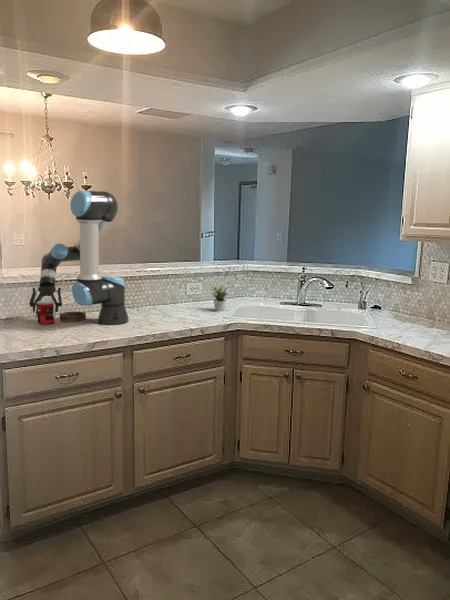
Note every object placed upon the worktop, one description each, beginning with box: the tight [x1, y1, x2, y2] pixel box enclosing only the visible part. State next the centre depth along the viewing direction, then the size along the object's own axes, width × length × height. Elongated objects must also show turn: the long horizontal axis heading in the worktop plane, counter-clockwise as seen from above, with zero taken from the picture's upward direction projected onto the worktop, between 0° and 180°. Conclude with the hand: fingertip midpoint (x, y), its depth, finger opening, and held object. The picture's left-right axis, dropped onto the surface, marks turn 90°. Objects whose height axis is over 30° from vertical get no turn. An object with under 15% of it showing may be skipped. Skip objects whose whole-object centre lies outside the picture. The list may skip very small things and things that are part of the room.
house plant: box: [209, 284, 230, 312], centre depth 287 cm, size 14×14×16 cm
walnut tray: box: [59, 311, 87, 324], centre depth 259 cm, size 13×13×3 cm
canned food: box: [37, 299, 55, 326], centre depth 249 cm, size 8×8×11 cm
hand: (44, 317), depth 246 cm, fingers closed on canned food, 8 cm apart
